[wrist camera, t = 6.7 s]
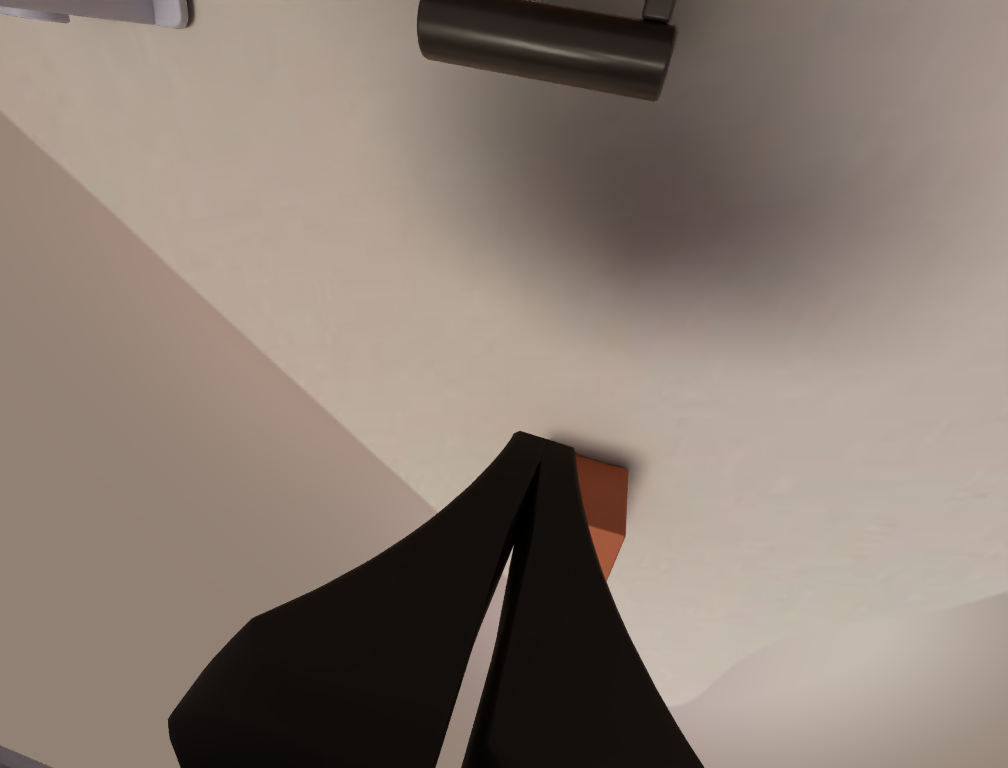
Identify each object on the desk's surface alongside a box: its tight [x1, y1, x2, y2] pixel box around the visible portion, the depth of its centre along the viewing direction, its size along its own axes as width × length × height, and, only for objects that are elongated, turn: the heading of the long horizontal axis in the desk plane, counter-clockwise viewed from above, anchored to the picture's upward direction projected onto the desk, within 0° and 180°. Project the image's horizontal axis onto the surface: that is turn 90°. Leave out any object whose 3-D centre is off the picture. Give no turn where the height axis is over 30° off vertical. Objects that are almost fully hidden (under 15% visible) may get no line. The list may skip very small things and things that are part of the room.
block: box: [509, 455, 628, 582], centre depth 22 cm, size 4×4×4 cm
